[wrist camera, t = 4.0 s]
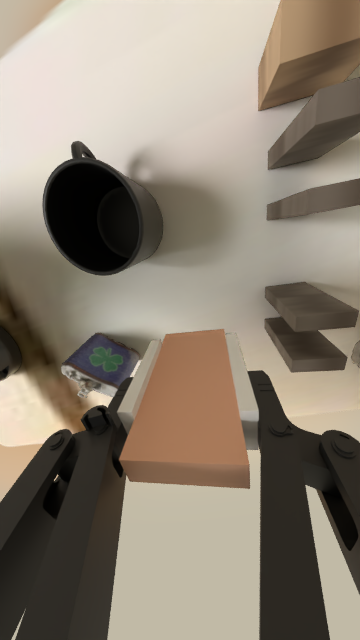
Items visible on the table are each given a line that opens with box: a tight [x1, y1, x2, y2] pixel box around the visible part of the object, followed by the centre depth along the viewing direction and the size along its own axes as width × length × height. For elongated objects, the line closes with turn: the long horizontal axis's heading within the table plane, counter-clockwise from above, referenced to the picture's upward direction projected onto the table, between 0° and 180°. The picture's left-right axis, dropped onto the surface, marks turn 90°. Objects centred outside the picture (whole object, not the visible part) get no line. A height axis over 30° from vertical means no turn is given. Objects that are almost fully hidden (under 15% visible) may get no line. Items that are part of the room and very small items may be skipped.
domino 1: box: [119, 329, 250, 489], centre depth 12 cm, size 5×2×10 cm, turn 100°
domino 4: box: [265, 282, 359, 332], centre depth 22 cm, size 5×2×10 cm, turn 100°
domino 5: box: [265, 317, 347, 372], centre depth 24 cm, size 5×2×10 cm, turn 100°
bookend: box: [258, 0, 360, 111], centre depth 15 cm, size 7×3×6 cm, turn 100°
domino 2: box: [268, 77, 360, 170], centre depth 15 cm, size 5×2×10 cm, turn 100°
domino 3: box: [267, 178, 360, 220], centre depth 17 cm, size 5×2×10 cm, turn 100°
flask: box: [61, 333, 140, 398], centre depth 29 cm, size 9×3×11 cm, turn 61°
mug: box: [43, 141, 163, 276], centre depth 20 cm, size 9×12×9 cm
